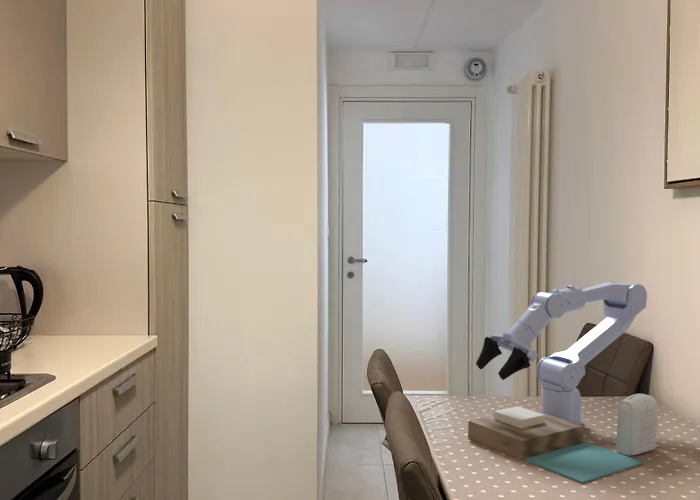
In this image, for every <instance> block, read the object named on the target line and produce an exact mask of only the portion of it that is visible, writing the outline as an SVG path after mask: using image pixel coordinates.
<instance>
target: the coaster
mask: <svg viewBox="0 0 700 500" xmlns="http://www.w3.org/2000/svg"><path fill="white" fill-rule="evenodd" d="M493 415H494V419H496V420H498V421H501V422H504V423H507V424H510V425H513V426H516V427H518V428H524V427H528V426H533V425H537V424H541V423H545V415H544V414H541V413H537V412H534V411H531V410H528V409H527V408H524V407H522V406H512V407H507V408H503V409H498V410H494V411H493Z"/></svg>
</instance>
